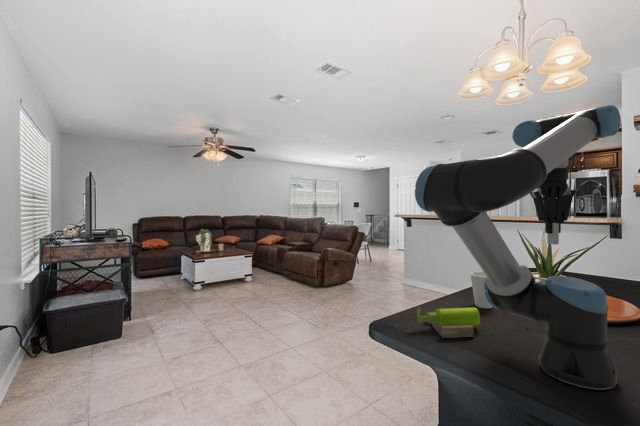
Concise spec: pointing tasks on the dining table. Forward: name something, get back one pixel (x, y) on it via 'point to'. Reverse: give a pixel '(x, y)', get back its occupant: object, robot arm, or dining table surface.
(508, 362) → the dining table surface
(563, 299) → the robot arm
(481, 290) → the foam cup
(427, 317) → the soap dispenser
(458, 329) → the cradle
